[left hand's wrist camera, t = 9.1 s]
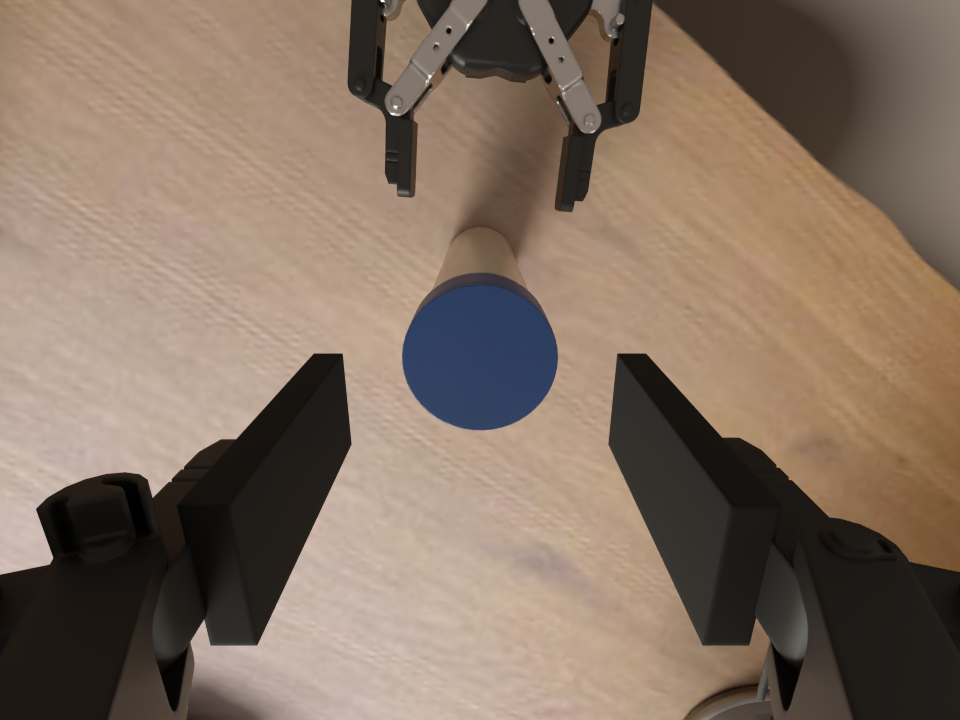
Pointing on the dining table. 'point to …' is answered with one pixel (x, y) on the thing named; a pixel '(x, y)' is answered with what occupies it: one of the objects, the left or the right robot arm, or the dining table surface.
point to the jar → (480, 256)
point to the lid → (479, 352)
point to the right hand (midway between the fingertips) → (485, 203)
